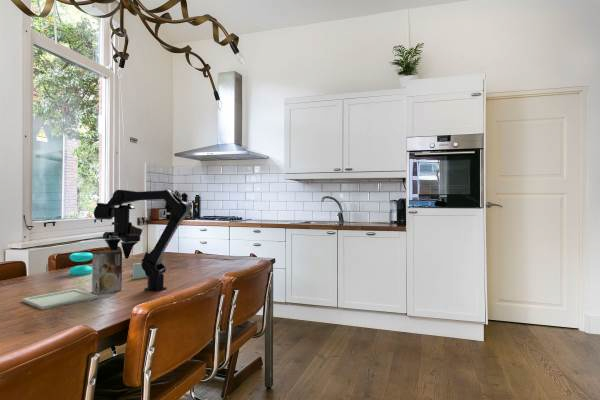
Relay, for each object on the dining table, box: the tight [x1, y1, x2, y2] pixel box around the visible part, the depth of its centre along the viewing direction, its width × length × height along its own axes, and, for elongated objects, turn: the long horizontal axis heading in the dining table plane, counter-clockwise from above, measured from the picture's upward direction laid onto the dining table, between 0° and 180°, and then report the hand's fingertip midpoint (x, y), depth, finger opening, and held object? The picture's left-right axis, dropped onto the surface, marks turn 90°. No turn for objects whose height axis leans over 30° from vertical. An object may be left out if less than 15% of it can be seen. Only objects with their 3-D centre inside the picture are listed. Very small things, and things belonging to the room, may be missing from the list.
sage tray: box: [22, 288, 98, 311], centre depth 135 cm, size 16×18×1 cm
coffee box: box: [91, 250, 123, 295], centre depth 149 cm, size 9×6×16 cm
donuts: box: [68, 252, 93, 276], centre depth 180 cm, size 10×10×10 cm
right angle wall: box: [132, 262, 148, 280], centre depth 180 cm, size 12×12×8 cm
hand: (120, 257), depth 153 cm, fingers open, 9 cm apart
